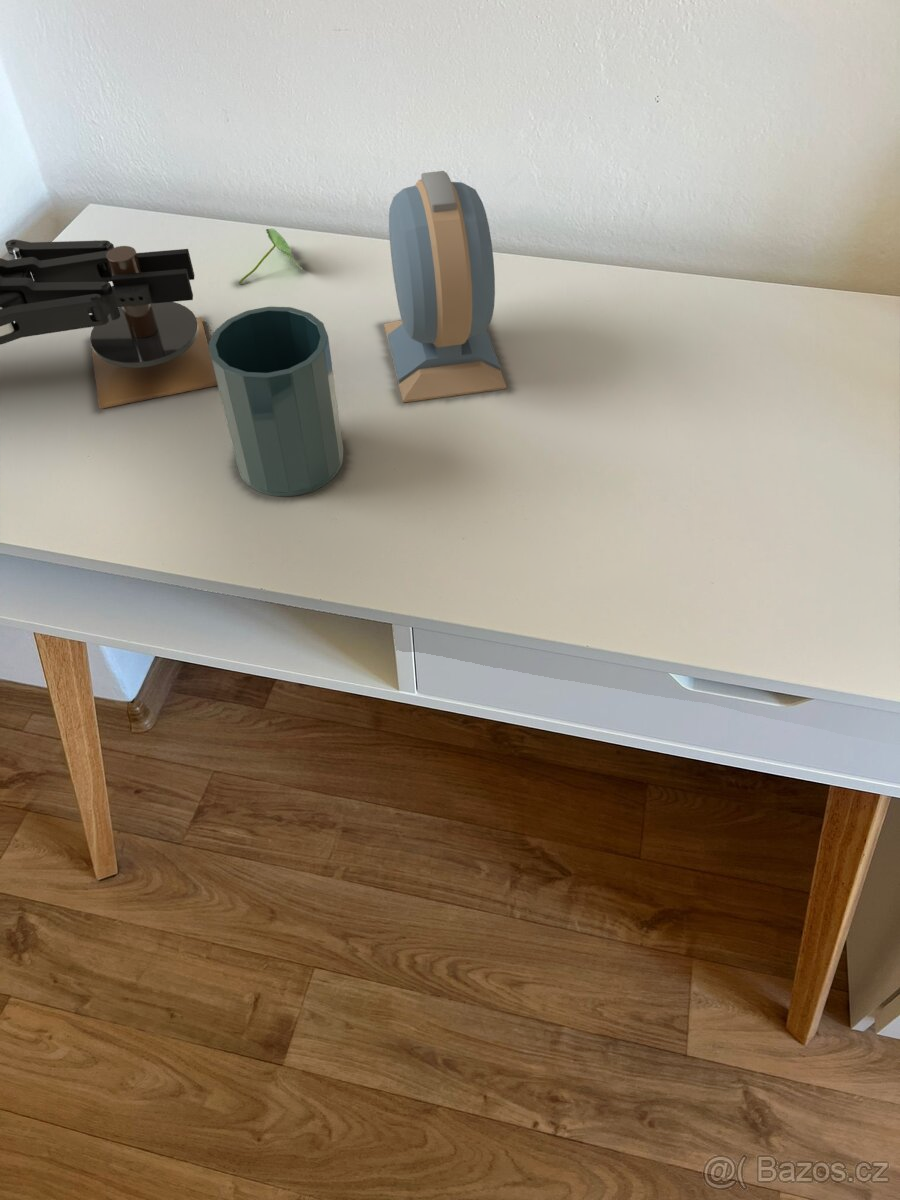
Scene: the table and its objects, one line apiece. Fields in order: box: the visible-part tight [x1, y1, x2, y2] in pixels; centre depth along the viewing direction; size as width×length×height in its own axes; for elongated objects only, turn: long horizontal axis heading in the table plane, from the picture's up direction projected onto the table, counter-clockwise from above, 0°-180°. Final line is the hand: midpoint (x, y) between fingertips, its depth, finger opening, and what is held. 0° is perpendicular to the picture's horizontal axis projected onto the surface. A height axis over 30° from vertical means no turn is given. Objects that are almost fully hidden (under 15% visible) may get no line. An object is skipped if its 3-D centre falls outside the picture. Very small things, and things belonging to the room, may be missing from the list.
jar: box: [208, 306, 344, 497], centre depth 83 cm, size 9×9×12 cm
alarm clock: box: [383, 170, 507, 403], centre depth 91 cm, size 14×10×18 cm
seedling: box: [238, 228, 303, 285], centre depth 106 cm, size 7×8×6 cm
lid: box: [89, 245, 199, 368], centre depth 92 cm, size 10×10×9 cm
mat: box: [90, 316, 218, 410], centre depth 97 cm, size 11×11×1 cm
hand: (189, 274), depth 91 cm, fingers closed on lid, 3 cm apart
